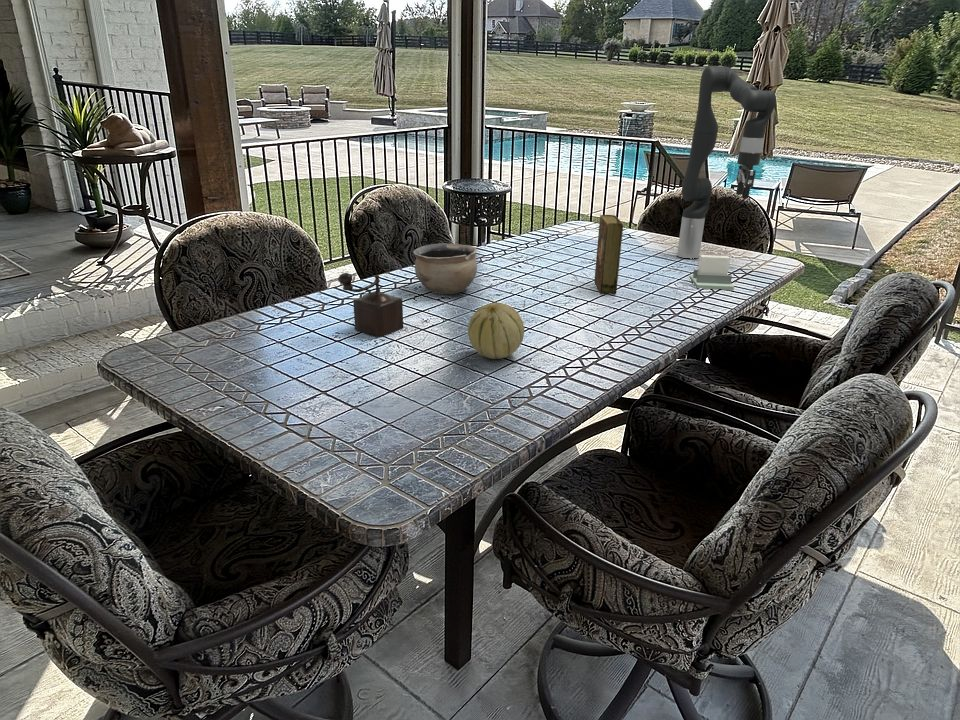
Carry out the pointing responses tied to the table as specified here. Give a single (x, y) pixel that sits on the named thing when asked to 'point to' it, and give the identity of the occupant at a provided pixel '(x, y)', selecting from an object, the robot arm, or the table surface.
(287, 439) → the table surface
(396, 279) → the table surface
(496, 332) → the cantaloupe
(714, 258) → the cream rectangular prism
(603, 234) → the book
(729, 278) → the dish rack
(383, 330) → the manual coffee grinder
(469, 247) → the ceramic bowl
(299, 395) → the table surface
